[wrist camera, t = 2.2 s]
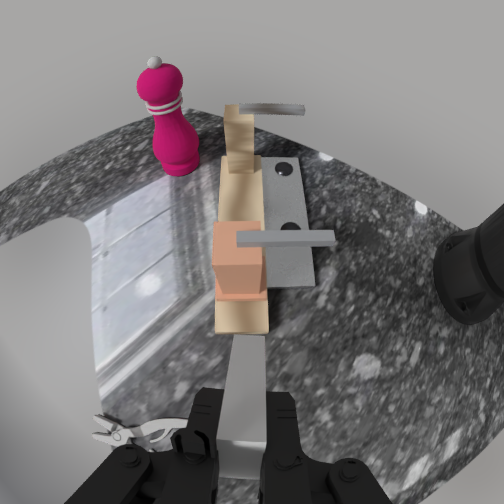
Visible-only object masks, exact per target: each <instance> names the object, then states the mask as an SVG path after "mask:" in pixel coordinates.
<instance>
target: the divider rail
mask: <svg viewBox="0 0 504 504" xmlns="http://www.w3.org/2000/svg"><path fill="white" fill-rule="evenodd" d="M254 114H279V115H280V114H281V115H282V114H283V115H302V116H303V115H304V114H305V107H304V105H294V104H238V105H225V112H224V130H225V141H226V151H227V156H222V161H221V176H220V193H219V211H218V222H223V221H261V231H263V230H265V225H264V205H263V186H262V167H261V155H254ZM262 256H265V268H266V247H262ZM266 293H267V270H266ZM215 297H216V295H215ZM268 332H269V323H268V295H267V299H266V301H216V299H215V333H216V334H268Z"/></svg>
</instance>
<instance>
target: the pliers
mask: <svg viewBox="0 0 504 504" xmlns="http://www.w3.org/2000/svg"><path fill="white" fill-rule="evenodd" d="M93 419H94V420H95V421H97V422H98V423H99V424H101V425H102V426H103V427H105V428H106V429H108V430H109V431H111V432H112V435H111V434H108V433H101V432H95V433H92V438H94V439H97V440H100V441H102V442H105V443H107V444H110V445H113V446H121V445H124V444H132V441H131V437H143V436H146V435H148V434H150V433H152V432H155V431H157V430H159V429H165V428H166V429H165V432H164V434H163V435H162V436H161V437H159V438H157V439H154V440H151V441H150V442H156V441H158V440H161V439H162V438H164V437H165V436H166V435H167V434H168V433H169V431H170V430H171V429H172V428H185V427H186V426H187V422H188V420H187V419H179V418H164V419H156V420H152V421H149V422H147V423H145V424H143V425H141V426H138V427H134V428H131V427H130V428H125V427H123V426H122V425H120V424H118V423H116V422H114V421H111V420H109V419H107V418H105V417H104V416H102V415H100V414H99V415H94V417H93ZM149 451H150V452H154V451H153V450H152V449H150V450H149Z"/></svg>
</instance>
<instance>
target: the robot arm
mask: <svg viewBox="0 0 504 504" xmlns="http://www.w3.org/2000/svg"><path fill="white" fill-rule="evenodd" d="M433 270H434V280H435V285H436V289H437V292H438V295H439V297H440V300H441V302H442V304H443V305H444V307H445V309H446V310H447V311H448V313H449V314H450V315H451V316H452V317H453V318H454V319H456V320H457V321H459V322H460V323H463V324H467V325H472V324H476V323H478V322H481V321H484V320H485V319H487V318H488V317H489V316H491V315H492V314H493V313H494V312H495V311H496V310H497V309H498V308H499V307H500V305H501V304H502V303H503V302H504V204H503V205H502V206H501V207H499V208H498V209H497V210H496V211H495V212H494V213H493V214H492V215H490V216H489V217H488V218H487V219H486V220H485V221H484V222H483V223H481V224H480V225H479V226H478V227H475V228H472V229H469V230H465V231H461V232H458V233H455V234H453V235H451V236H449V237H448V238H447V239H446V240H445V241H443V242H442V243H441V244H440V246H439V247H438V249H437V251H436V254H435V258H434V267H433ZM170 439H171V443H172V446H173V449H171V450H169V451H163V452H147V451H146V450H145V449H143V448H142V447H141V446H138V445H135V444H124V445H121V446H119V447H117V448H116V449H114V450H113V452H112V453H111V454H110V455H109V456H108V457H107V458H106V459H105V460H104V462H103V463H102V464H101V465H100V466H99V467H98V468H97V469H96V470H95V471H94V472H93V473H92V475H91V476H90V477H89V478H88V479H87V480H86V481H85V482H84V483H83V484H82V485H81V486H80V487H79V488H78V490H77V491H76V492H75V493H74V494H73V495H72V496H71V497H70V498H69V499H68V500H67V501H66V502H65V503H64V504H216V501H217V494H218V477H227V478H239V479H260V488H259V493H258V498H257V499H259V501H258V504H392V502H391V501H390V500H389V498H388V497H387V495H386V494H385V492H384V491H383V489H382V488H381V486H380V485H379V483H378V482H377V480H376V479H375V477H374V476H373V474H372V473H371V471H370V470H369V468H368V467H367V466H366V465H365V464H364V463H363V462H362V461H360V460H358V459H354V458H345V459H341V460H339V461H337V462H335V463H334V464H331V463H324V462H319V461H315V460H313V459H311V458H309V457H308V456H307V455H305V454H304V452H303V451H302V448H301V444H300V437H299V429H298V422H297V414H296V407H295V400H294V399H293V397H292V396H291V395H290V393H289V392H266V373H265V336H251V335H236V334H234V339H233V345H232V350H231V356H230V362H229V368H228V373H227V379H226V385H225V390H224V389H214V388H205V387H203V388H202V389H201V390H200V391H199V392H198V393H197V394H196V395H195V398H194V402H193V405H192V409H191V413H190V415H189V419H188V422H187V426H186V427H185V428H181V429H179V430H177V431H176V432H174V433H173V435H172V436H171V438H170Z"/></svg>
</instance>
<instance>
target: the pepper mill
mask: <svg viewBox="0 0 504 504" xmlns="http://www.w3.org/2000/svg"><path fill="white" fill-rule="evenodd" d="M147 64H148V67H149V68H147V69H146V70H145V71H143V72H142V73H141V75H140V76H139V78H138V81H137V92H138V94H139V96H140V98H141V99H143V100H145V101H146V103H145V104H146V107H147V111H148V112H149V113H151V114H153V117H154V120H155V132H154V136H153V150H154V154H155V156H156V157H157V159H159V160H160V161H161V164H162V166H163V169H164V171H165V172H166V173H167V174H169V175H171V176H183V175H186V174H188V173H190V172H192V171H193V170H194V169H196V167H197V166H198V164H199V160H200V158H199V153H198V150H197V149H198V146H199V138H198V135H197V132H196V131H195V129H194V128H193V126H192V125H191V124H190V123H189V122H188V121H187V120H186V119H185V118H184V116H183V114H182V111H181V104H182V102H183V98H182V93H181V91H180V89H181V88H182V84H183V77H182V74H181V73H180V71H179V69H178V68H177V67H175V66H174V65H171V64H165V63H163V64H162V60H161V59H160V57H157V56H154V57H152V58H150V59H149V60H148V63H147Z"/></svg>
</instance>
